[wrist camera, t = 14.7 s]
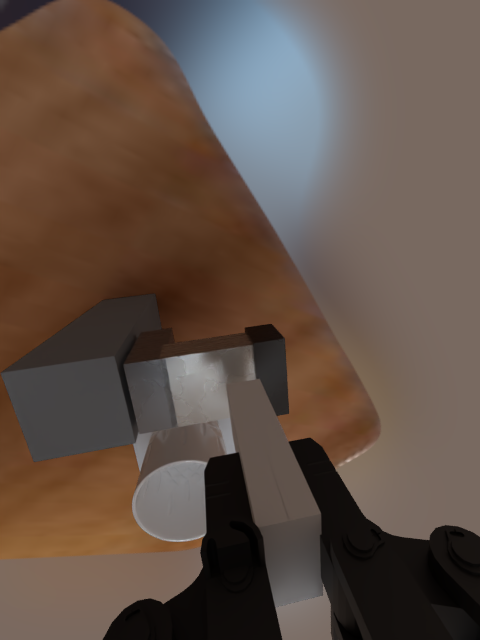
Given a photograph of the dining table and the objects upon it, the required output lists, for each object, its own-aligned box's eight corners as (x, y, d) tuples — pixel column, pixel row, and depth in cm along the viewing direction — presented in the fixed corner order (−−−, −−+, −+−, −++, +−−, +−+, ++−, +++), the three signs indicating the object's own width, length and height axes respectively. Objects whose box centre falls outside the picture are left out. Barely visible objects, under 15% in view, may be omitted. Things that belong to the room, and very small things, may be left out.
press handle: (152, 389, 20) (139, 441, 15) (140, 329, 19) (120, 363, 14) (265, 371, 21) (289, 413, 16) (261, 312, 20) (284, 338, 15)
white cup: (140, 403, 30) (116, 479, 21) (213, 383, 31) (223, 447, 22) (162, 462, 33) (150, 554, 23) (230, 442, 33) (245, 524, 24)
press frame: (144, 472, 34) (107, 657, 19) (103, 300, 28) (0, 372, 13) (251, 450, 36) (295, 606, 21) (234, 283, 30) (277, 331, 15)
